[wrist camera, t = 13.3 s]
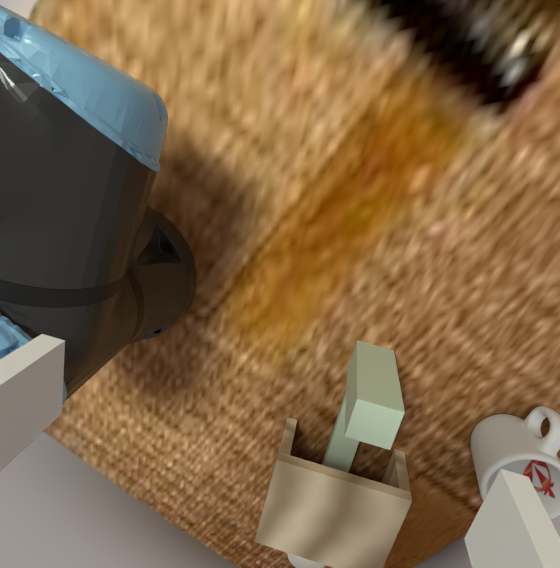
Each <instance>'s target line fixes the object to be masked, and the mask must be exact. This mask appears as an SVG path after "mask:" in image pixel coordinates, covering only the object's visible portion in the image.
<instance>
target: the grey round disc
mask: <svg viewBox="0 0 560 568" xmlns="http://www.w3.org/2000/svg"><path fill="white" fill-rule="evenodd" d="M288 559H289V561H290V562H291V564H292V565H293V566H294V567H296V568H324V567H325V566H326V565H324V564H320V563H317V562H314V561H311V560H308V559H305V558H302V557H299V556H296V555H293V554H290V553H288Z"/></svg>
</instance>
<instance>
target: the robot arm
mask: <svg viewBox="0 0 560 568" xmlns="http://www.w3.org/2000/svg"><path fill="white" fill-rule="evenodd" d="M167 126H168V113H167V109H166V106H165V104H164V102H163V100H162V99H161V97H160V96H159V95H158V94H157V93H156V92H155V91H154V90H153V89H151V88H150V87H148V86H147V85H145V84H144V83H142V82H140V81H138V80H137V79H135V78H133V77H132V76H130V75H128V74H126V73H125V72H123V71H121V70H119V69H117V68H116V67H114V66H112V65H110V64H109V63H107V62H105V61H103V60H101V59H100V58H98V57H96V56H94V55H92V54H90V53H89V52H87V51H85V50H83V49H81V48H80V47H78V46H76V45H74V44H72V43H71V42H69V41H67V40H65V39H63V38H61V37H60V36H58V35H56V34H54V33H52V32H50V31H49V30H47V29H45V28H43V27H41V26H39V25H37V24H36V23H34V22H32V21H30V20H28V19H26V18H24V17H22V16H20V15H18V14H17V13H15V12H13V11H11V10H9V9H6V8H5V7H3V6H0V471H1V470H2V469H3V468H4V467H5V466H6V465H7V464H8V463H9V462H10V461H12V460H13V459H14V458H15V457H16V456H17V455H18V454H19V453H20V452H21V451H22V450H23V449H24V448H26V447H27V446H28V445H29V444H30V443H31V442H32V441H33V440H34V439H35V438H36V437H37V436H39V435H40V434H41V433H42V432H43V431H44V430H45V429H46V428H47V427H48V426H49V425H50V424H51V423H53V422H54V421H55V420H56V419H57V418H58V417H59V416H60V415H61V414H62V406H63V405H64V402H65V401H66V400H67V399H68V398H69V397H70V396H71V395H72V394H73V393H74V392H76V391H77V390H78V389H79V388H80V387H81V386H82V385H83V384H84V383H85V382H86V381H88V380H89V379H90V378H91V377H92V376H93V375H94V374H95V373H96V372H97V371H99V370H100V369H101V368H102V367H103V366H104V365H105V364H106V363H107V362H108V361H109V360H111V359H112V358H113V357H114V356H115V355H116V354H117V353H118V352H119V351H120V350H121V349H123V348H124V347H125V346H126V345H127V344H130V343H133V342H137V341H141V340H144V339H148V338H151V337H154V336H157V335H159V334H161V333H163V332H164V331H166V330H167V329H169V328H170V327H171V326H173V325H174V324H175V323H176V322H177V321H178V320H179V319H180V318H181V317H182V316H183V314H184V313H185V312H186V310H187V309H188V307H189V306H190V303H191V301H192V299H193V296H194V292H195V286H196V270H195V264H194V260H193V257H192V254H191V251H190V249H189V247H188V245H187V243H186V241H185V239H184V238H183V236H182V235H181V234H180V232H179V231H178V230H177V229H176V227H175V226H174V225H173V224H172V223H171V222H170V221H168V220H167V219H166V218H165V217H163V216H162V215H161V214H159V213H157V212H156V211H154V210H152V209H150V208H148V207H147V204H148V200H149V197H150V194H151V190H152V187H153V184H154V180H155V177H156V174H157V173H159V172H160V169H161V168H160V166H161V165H160V163H159V159H160V155H161V151H162V147H163V142H164V138H165V134H166V130H167ZM464 539H465V543H466V547H467V551H468V555H469V558H470V562H471V565H472V568H560V538H559V535H558V534H557V532H556V530H555V528H554V526H553V524H552V522H551V520H550V518H549V516H548V514H547V512H546V510H545V508H544V506H543V504H542V502H541V500H540V498H539V496H538V494H537V492H536V490H535V488H534V486H533V485H532V483H531V481H530V479H529V477H527V476H524V475H520V474H517V473H513V472H510V471H507V470H503V469H500V471H499V473H498V475H497V477H496V479H495V481H494V482H493V484H492V486H491V488H490V490H489V492H488V494H487V496H486V498H485V500H484V502H483V504H482V505H481V507H480V509H479V511H478V513H477V515H476V517H475V519H474V521H473V523H472V525H471V527H470V528H469V530H468V532H467V534H466V536H465V538H464Z"/></svg>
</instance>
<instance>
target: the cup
mask: <svg viewBox="0 0 560 568" xmlns="http://www.w3.org/2000/svg"><path fill="white" fill-rule="evenodd" d="M546 417H548V419H549V422H550V430H549V432H548V434H547V435H546V436H545V437H544V438H543V436H542V434H541V424H542V421H543V420H544V419H545V418H546ZM470 444H471V452H472V456H473V461H474V466H475V470H476V475H477V480H478V485H479V489H480V494H481V497H482V499H483V501H484V500H485V498H486V496H487V494H488V492H489V490H490V488H491V486H492V484H493V482H494V481H495V479H496V477H497V475H498V473H499V471H500V469H503V470H507V471H510V472H513V473H517V474H520V475H524V476H527V477H529V479H530V481H531V483H532V485H533V486H534V488H535V490H536V492H537V494H538V496H539V498H540V500H541V502H542V504H543V506H544V508H545V510H546V512H547V514H548V516H549V518H550V520H552V519H554V518H556V517H558V516H559V515H560V459H559V458H558V457H557V452H558V451H559V449H560V415H559V414H558V413H557V412H555V411H554V410H552V409H550V408H547V407H544V406H540V407H536V408H535V409H533V410H532V411H531V412H530V414H529V415H528V416H527V417H526V419H525V420H523V419H521V418H519V417H516V416H513V415H508V414H497V415H492V416H489V417H487V418H485V419H483V420H482V421H480V422H479V423H478V424H477V425H476V426H475V428H474V430H473V432H472V434H471V441H470Z"/></svg>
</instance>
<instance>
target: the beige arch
mask: <svg viewBox="0 0 560 568" xmlns="http://www.w3.org/2000/svg"><path fill="white" fill-rule="evenodd" d="M296 424H297V420H296V419H293V418H289V417H287V421H286V425H285V428H284V432H283V436H282V439H281V443H280V446H279V450H278V454H277V457H276V461H275V465H274V468H273V472H272V476H271V479H270V483H269V487H268V490H267V494H266V498H265V502H264V506H263V510H262V514H261V518H260V521H259V525H258V529H257V533H256V537H255V541H254V542H256V543H259V544H262V545H265V546H268V547H271V548H274V549H277V550H280V551H284V552H287V553H290V554H293V555H296V556H299V557H302V558H305V559H308V560H311V561H314V562H317V563H320V564H324V565H327V566H330V567H333V568H383V567H384V564H385V562H386V560H387V557H388V555H389V553H390V551H391V548H392V546H393V544H394V542H395V539H396V537H397V535H398V532H399V530H400V528H401V526H402V523H403V521H404V519H405V517H406V514H407V512H408V510H409V508H410V505H411V503H412V497H411V490H410V484H409V477H408V471H407V464H406V458H405V452H404V451H401V450H397V449H394V451H393V453H392V456H391V458H390V461H389V463H388V466H387V468H386V471H385V473H384V476H383V478H382V481H381V483H380V482H376V481H373V480H370V479H366V478H363V477H360V476H356V475H353V474H350V473H347V472H343V471H340V470H337V469H333V468H330V467H327V466H324V465H320V464H317V463H314V462H310V461H307V460H304V459H301V458H297V457H294V456H291V455H290V453H291V448H292V443H293V438H294V434H295V429H296Z"/></svg>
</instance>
